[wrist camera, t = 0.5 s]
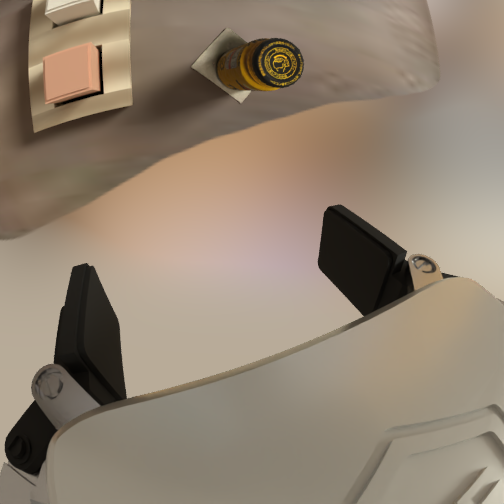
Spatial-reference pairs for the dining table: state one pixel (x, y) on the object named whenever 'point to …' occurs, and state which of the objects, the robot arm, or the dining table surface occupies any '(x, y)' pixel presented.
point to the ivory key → (71, 10)
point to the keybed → (73, 34)
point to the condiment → (250, 64)
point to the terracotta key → (71, 73)
